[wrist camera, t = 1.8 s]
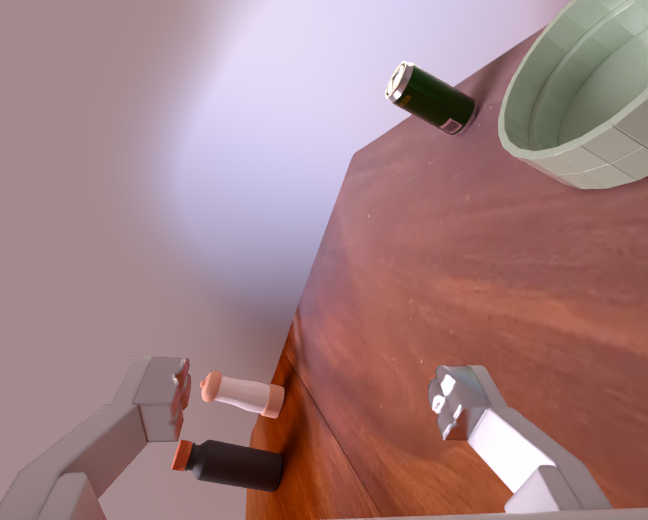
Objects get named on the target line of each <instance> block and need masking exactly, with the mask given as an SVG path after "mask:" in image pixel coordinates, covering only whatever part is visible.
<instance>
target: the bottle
mask: <svg viewBox="0 0 648 520" xmlns="http://www.w3.org/2000/svg"><path fill="white" fill-rule="evenodd" d="M282 466H283V460H282V456H281V455H280V454H279V453H274V452H269V451H264V450H259V449H254V448H249V447H244V446H239V445H234V444H228V443H224V442H219V441H214V440H207V441H205V442H204V443H202V444H201V445H195V443H193V444H192V442H190V441H185V440H181V441H180V443H179V445H178V448H177V451H176V454H175V457H174V460H173V464H172V469H173V470H179V471H184V469H185V471H186V470H191V471H192V472H193V474H194V475H195V477H196V479H198V480H202V481H208V482H214V483H220V484H226V485H232V486H238V487H244V488H250V489H256V490H262V491H268V492H273V491H275V490H276V488H277V487H278V484H279V482H280V478H281V473H282Z"/></svg>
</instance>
